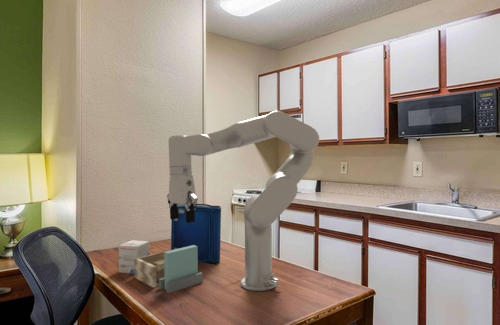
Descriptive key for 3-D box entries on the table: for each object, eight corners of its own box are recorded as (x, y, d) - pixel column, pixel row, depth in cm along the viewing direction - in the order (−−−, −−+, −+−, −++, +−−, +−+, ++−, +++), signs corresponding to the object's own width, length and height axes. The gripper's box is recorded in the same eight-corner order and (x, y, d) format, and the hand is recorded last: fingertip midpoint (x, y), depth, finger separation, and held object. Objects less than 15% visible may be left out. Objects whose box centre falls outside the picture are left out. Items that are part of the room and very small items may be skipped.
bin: (192, 278, 126) (192, 257, 126) (153, 290, 115) (153, 267, 114) (172, 269, 136) (171, 249, 136) (134, 279, 124) (134, 258, 124)
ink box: (150, 269, 136) (149, 240, 136) (138, 276, 128) (137, 246, 127) (131, 267, 138) (131, 239, 138) (118, 274, 130) (118, 244, 130)
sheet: (197, 282, 120) (197, 246, 120) (168, 292, 112) (168, 253, 111) (193, 280, 122) (193, 245, 121) (164, 290, 113) (164, 251, 113)
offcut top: (177, 267, 125) (177, 259, 125) (159, 273, 119) (159, 264, 119) (171, 265, 127) (171, 257, 127) (153, 270, 121) (153, 262, 121)
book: (222, 259, 148) (222, 203, 148) (219, 264, 141) (219, 205, 141) (175, 258, 150) (174, 202, 150) (170, 263, 143) (169, 205, 143)
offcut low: (181, 275, 125) (181, 266, 125) (157, 283, 118) (157, 273, 118) (175, 273, 128) (175, 264, 128) (151, 280, 121) (151, 270, 121)
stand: (206, 285, 119) (206, 273, 119) (169, 298, 108) (169, 285, 108) (191, 278, 125) (191, 267, 125) (155, 290, 115) (155, 278, 114)
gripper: (204, 171, 112) (206, 221, 113) (176, 170, 125) (177, 216, 125) (185, 172, 107) (187, 225, 107) (158, 171, 119) (159, 219, 120)
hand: (182, 220), depth 116 cm, fingers open, 9 cm apart
